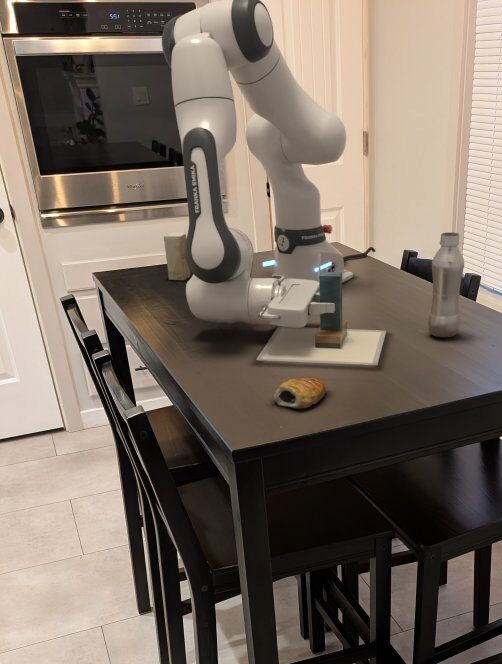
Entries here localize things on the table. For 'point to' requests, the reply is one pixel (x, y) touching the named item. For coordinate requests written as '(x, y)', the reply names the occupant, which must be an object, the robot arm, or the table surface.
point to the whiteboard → (301, 348)
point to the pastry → (300, 392)
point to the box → (176, 256)
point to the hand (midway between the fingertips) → (336, 304)
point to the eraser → (331, 323)
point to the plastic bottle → (446, 287)
